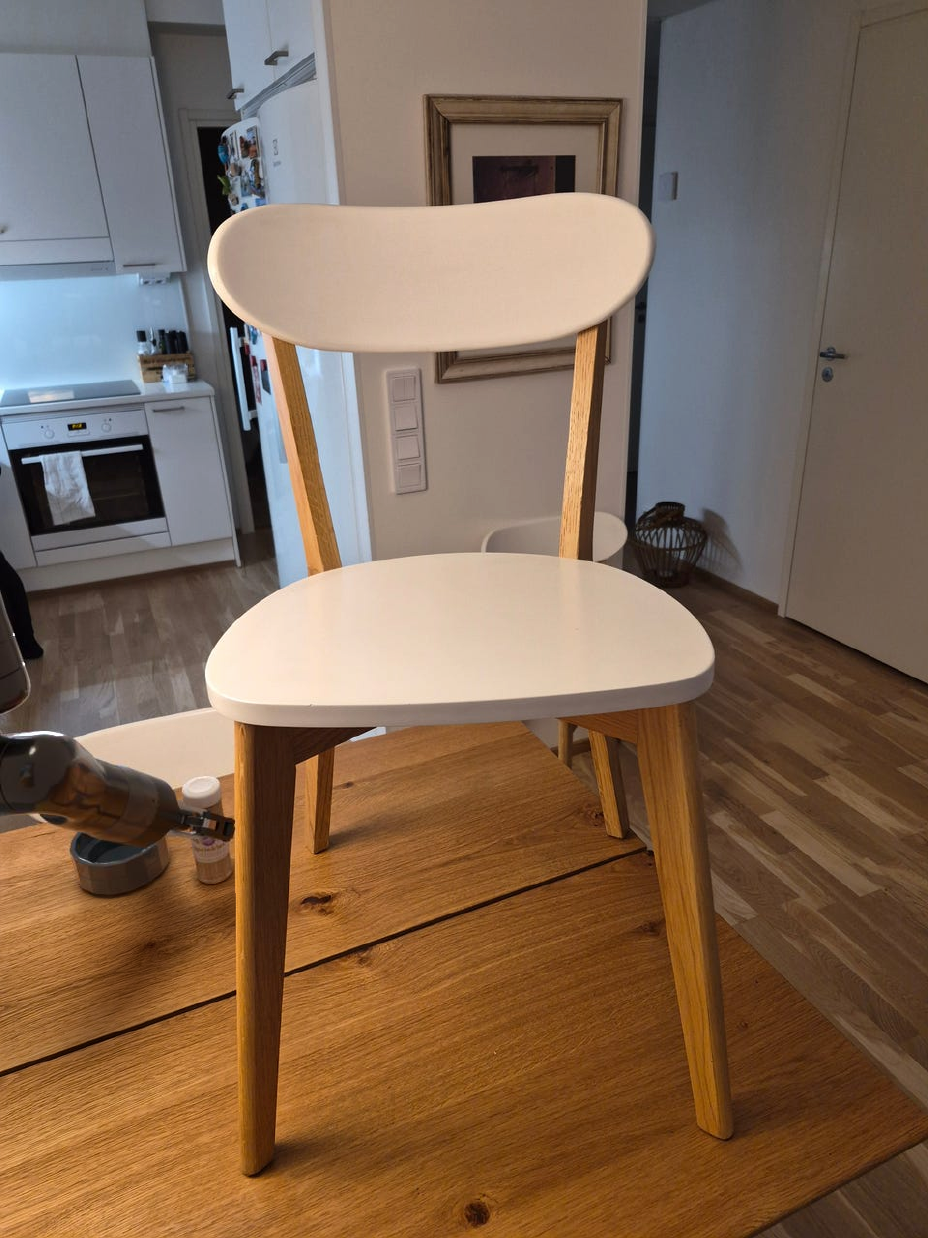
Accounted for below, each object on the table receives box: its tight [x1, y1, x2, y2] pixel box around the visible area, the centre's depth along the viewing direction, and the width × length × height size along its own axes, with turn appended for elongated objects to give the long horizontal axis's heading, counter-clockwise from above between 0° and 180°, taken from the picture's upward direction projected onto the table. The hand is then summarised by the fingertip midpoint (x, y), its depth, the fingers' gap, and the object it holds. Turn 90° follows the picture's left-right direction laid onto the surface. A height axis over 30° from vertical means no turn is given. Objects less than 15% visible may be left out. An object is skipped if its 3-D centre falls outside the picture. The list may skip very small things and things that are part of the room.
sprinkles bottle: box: [181, 775, 234, 885], centre depth 102 cm, size 5×5×13 cm
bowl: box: [69, 832, 171, 896], centre depth 105 cm, size 11×11×5 cm
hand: (198, 827), depth 101 cm, fingers open, 8 cm apart
